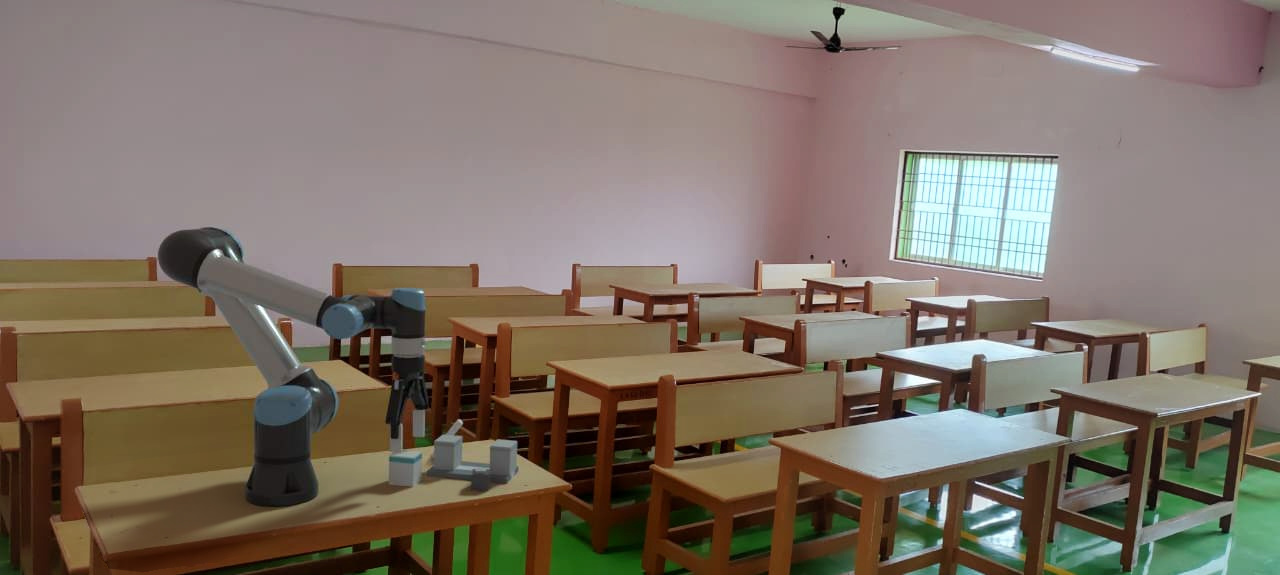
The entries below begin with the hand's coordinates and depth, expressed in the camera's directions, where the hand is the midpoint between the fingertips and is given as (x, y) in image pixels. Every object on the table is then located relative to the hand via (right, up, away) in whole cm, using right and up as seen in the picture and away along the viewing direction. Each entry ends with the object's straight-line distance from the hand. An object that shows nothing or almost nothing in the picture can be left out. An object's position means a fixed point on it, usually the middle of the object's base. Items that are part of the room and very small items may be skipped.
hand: (407, 444), depth 217 cm
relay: (+17, -10, 0) cm, 20 cm away
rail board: (+14, -9, +10) cm, 19 cm away
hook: (+4, -7, +23) cm, 25 cm away
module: (-1, -9, +1) cm, 9 cm away
